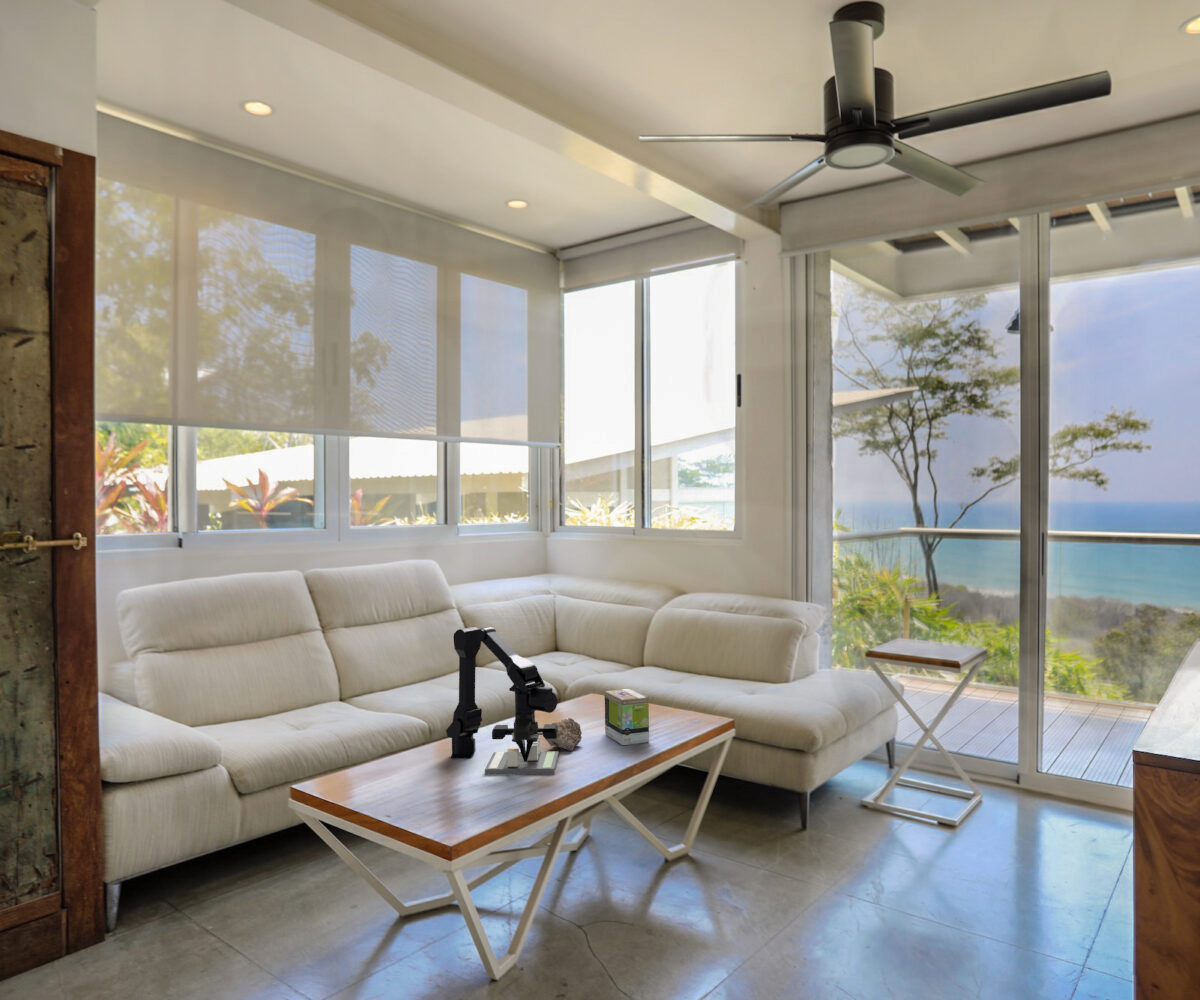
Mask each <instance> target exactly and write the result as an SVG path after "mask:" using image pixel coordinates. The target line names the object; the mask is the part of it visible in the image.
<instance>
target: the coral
mask: <svg viewBox="0 0 1200 1000" xmlns="http://www.w3.org/2000/svg"><path fill="white" fill-rule="evenodd" d="M551 724H556V725H557V726H558V735H557V738H556V739H545V738H544V739H545V741H546V742H547V744H549V746H550V747H556V748H558V747H560V748H563V749H565V750H567V751H569V752H571V751H574V748H575V746H578V745H579V743H580V742H581V741H582V734H583V733H582V730H581V725H580V723H578V722H577V721H575V719H573V718H571V717H568V719H566V718H565V719H561V721H558V722H552V723H551Z"/></svg>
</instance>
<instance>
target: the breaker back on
mask: <svg viewBox="0 0 1200 1000" xmlns="http://www.w3.org/2000/svg"><path fill="white" fill-rule="evenodd" d="M536 742H538V754H540V752H541V737H540V736H539V737H538V740H537V741H536Z"/></svg>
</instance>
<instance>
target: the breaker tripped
mask: <svg viewBox="0 0 1200 1000" xmlns="http://www.w3.org/2000/svg"><path fill="white" fill-rule="evenodd" d="M506 752H507V767H516V766H518V765H519V752H520V748H519V747H510V748H509V747H508V749H507V751H506Z"/></svg>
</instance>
